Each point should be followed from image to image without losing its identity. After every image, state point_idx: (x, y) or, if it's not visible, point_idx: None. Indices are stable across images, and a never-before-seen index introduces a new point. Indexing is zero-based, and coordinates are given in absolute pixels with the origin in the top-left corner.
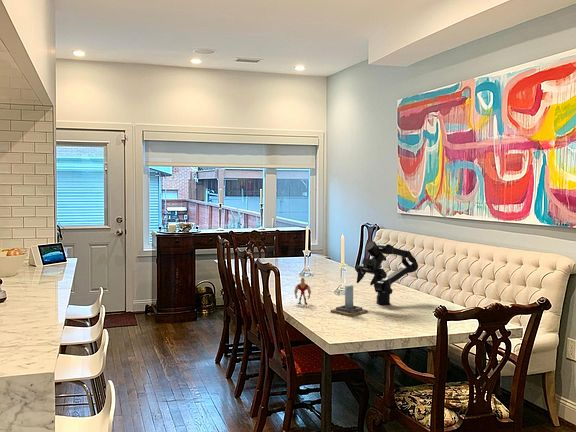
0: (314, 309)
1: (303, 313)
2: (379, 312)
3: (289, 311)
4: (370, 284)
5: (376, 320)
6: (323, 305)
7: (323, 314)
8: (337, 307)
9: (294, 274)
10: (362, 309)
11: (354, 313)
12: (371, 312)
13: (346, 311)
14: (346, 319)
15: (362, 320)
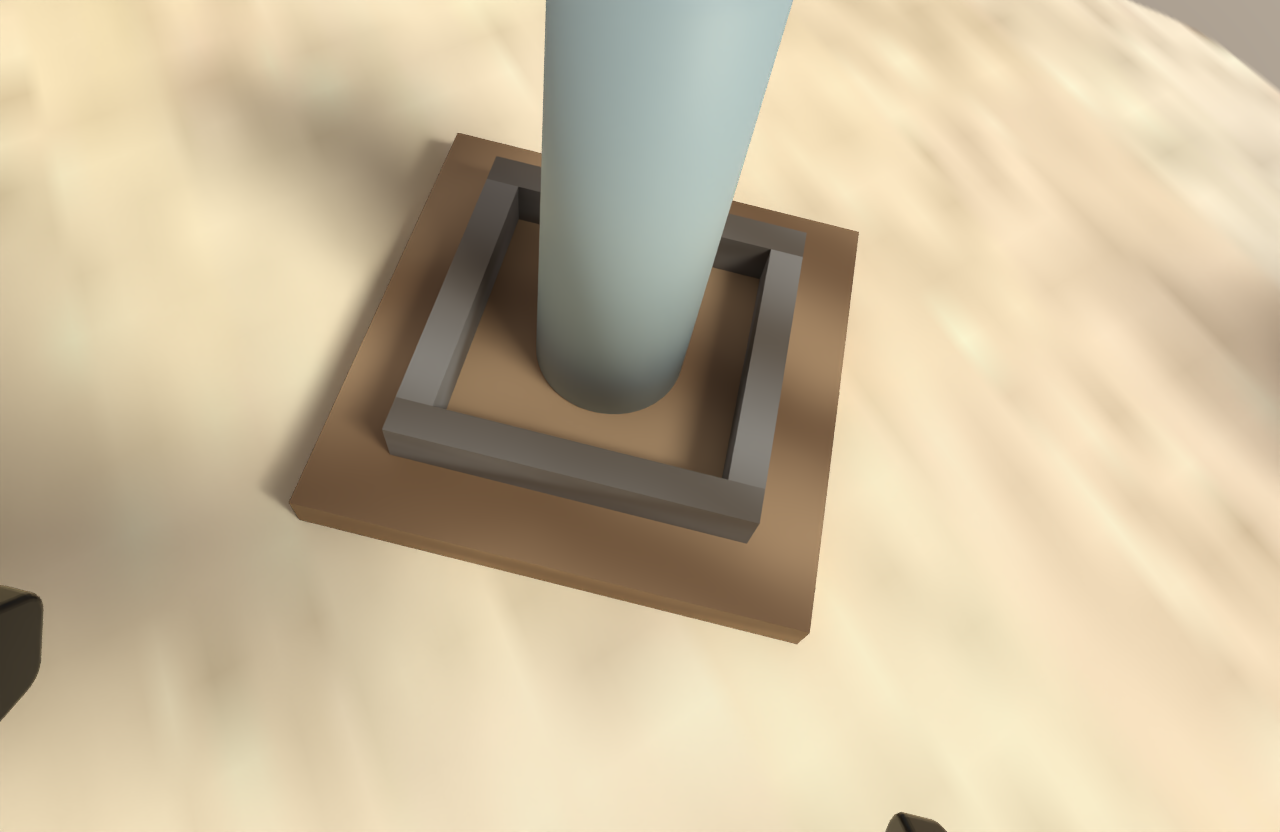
0: (1134, 299)
1: (1063, 78)
2: (55, 639)
3: (1252, 93)
4: (12, 595)
5: (31, 126)
6: (1265, 616)
7: (844, 124)
8: (774, 227)
9: None
10: (406, 501)
11: (431, 195)
12: (225, 554)
13: None
14: (458, 35)
15: (238, 62)
